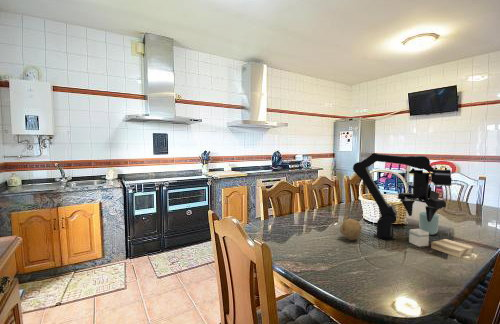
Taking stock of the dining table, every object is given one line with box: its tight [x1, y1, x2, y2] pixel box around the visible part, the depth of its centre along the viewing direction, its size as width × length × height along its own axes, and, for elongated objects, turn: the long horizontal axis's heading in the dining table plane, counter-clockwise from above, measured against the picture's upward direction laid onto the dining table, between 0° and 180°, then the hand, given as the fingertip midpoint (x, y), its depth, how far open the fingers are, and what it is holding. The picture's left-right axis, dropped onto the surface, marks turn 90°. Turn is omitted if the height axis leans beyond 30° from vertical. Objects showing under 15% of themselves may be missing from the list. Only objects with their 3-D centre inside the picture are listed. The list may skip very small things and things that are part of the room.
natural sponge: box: [339, 218, 362, 241], centre depth 112 cm, size 9×9×10 cm
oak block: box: [430, 238, 474, 258], centre depth 101 cm, size 10×10×3 cm
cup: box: [418, 211, 440, 236], centre depth 121 cm, size 8×8×10 cm
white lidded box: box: [408, 228, 430, 248], centre depth 108 cm, size 5×5×6 cm
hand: (419, 218), depth 108 cm, fingers open, 9 cm apart
